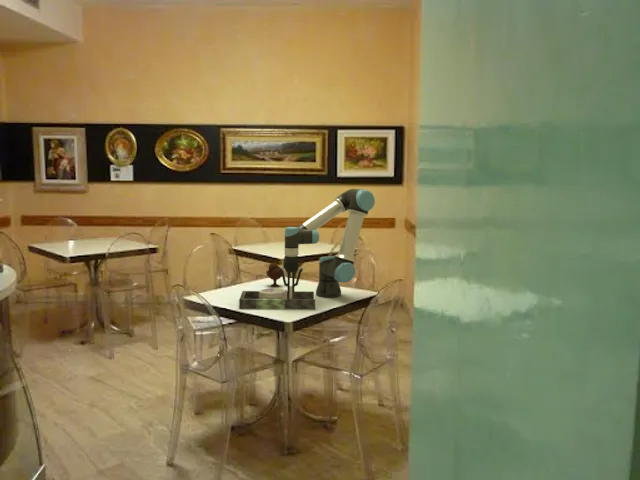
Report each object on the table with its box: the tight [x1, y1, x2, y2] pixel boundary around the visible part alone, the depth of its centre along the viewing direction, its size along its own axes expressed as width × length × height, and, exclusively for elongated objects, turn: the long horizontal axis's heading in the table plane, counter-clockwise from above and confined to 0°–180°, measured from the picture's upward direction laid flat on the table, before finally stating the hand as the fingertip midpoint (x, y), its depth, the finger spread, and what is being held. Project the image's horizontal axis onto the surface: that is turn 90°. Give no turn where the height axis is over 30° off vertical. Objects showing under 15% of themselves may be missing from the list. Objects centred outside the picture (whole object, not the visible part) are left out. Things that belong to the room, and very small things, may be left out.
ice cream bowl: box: [265, 262, 283, 288], centre depth 363 cm, size 11×11×15 cm
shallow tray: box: [238, 290, 316, 310], centre depth 314 cm, size 40×22×5 cm, turn 93°
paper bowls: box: [258, 287, 287, 299], centre depth 313 cm, size 15×15×8 cm
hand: (290, 298), depth 314 cm, fingers closed
